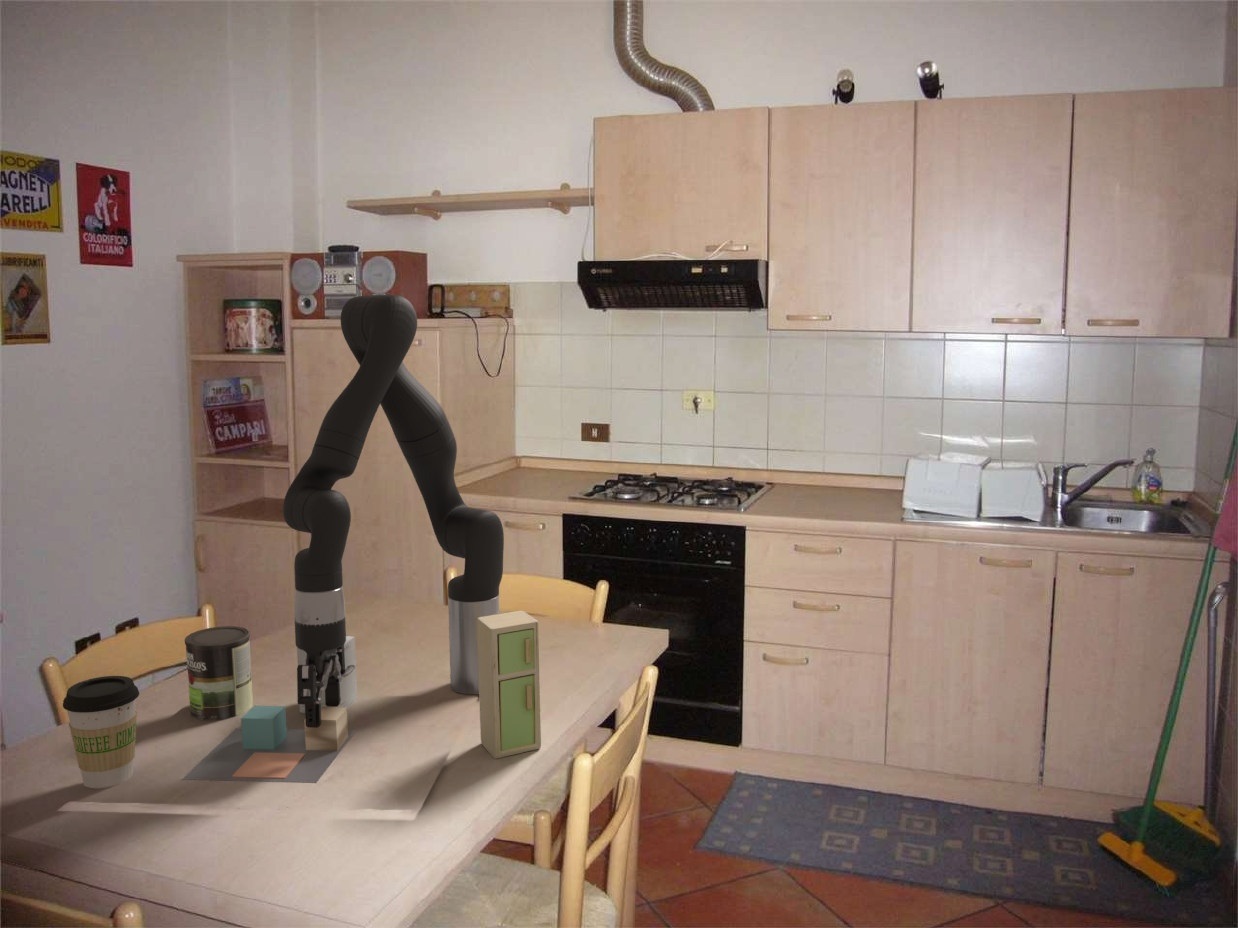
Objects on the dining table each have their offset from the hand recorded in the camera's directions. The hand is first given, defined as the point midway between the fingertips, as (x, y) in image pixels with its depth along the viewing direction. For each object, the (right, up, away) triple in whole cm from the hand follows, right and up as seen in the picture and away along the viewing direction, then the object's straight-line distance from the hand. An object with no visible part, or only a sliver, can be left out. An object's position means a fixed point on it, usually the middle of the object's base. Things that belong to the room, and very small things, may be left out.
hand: (323, 715), depth 155 cm
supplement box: (-4, -4, +16) cm, 17 cm away
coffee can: (-22, -4, +15) cm, 27 cm away
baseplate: (-7, -6, -2) cm, 10 cm away
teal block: (-10, -5, +2) cm, 11 cm away
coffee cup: (-28, -8, -10) cm, 31 cm away
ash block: (0, -5, +1) cm, 5 cm away
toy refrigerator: (+29, -6, +2) cm, 30 cm away
